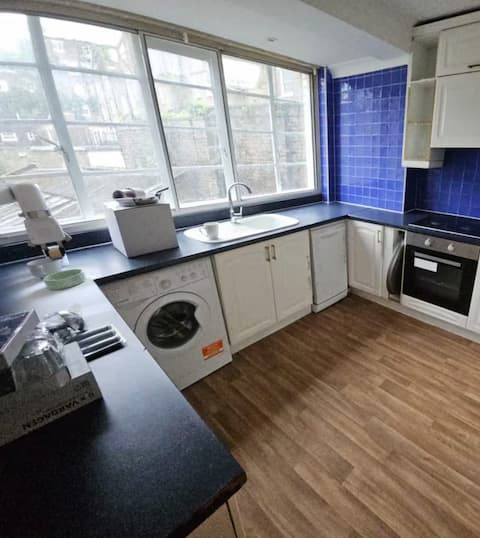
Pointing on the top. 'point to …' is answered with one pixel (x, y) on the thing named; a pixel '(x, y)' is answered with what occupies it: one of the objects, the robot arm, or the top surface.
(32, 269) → the teacup
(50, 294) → the top surface
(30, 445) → the top surface
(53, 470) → the top surface
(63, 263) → the white cup
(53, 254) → the eraser
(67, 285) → the bowl
